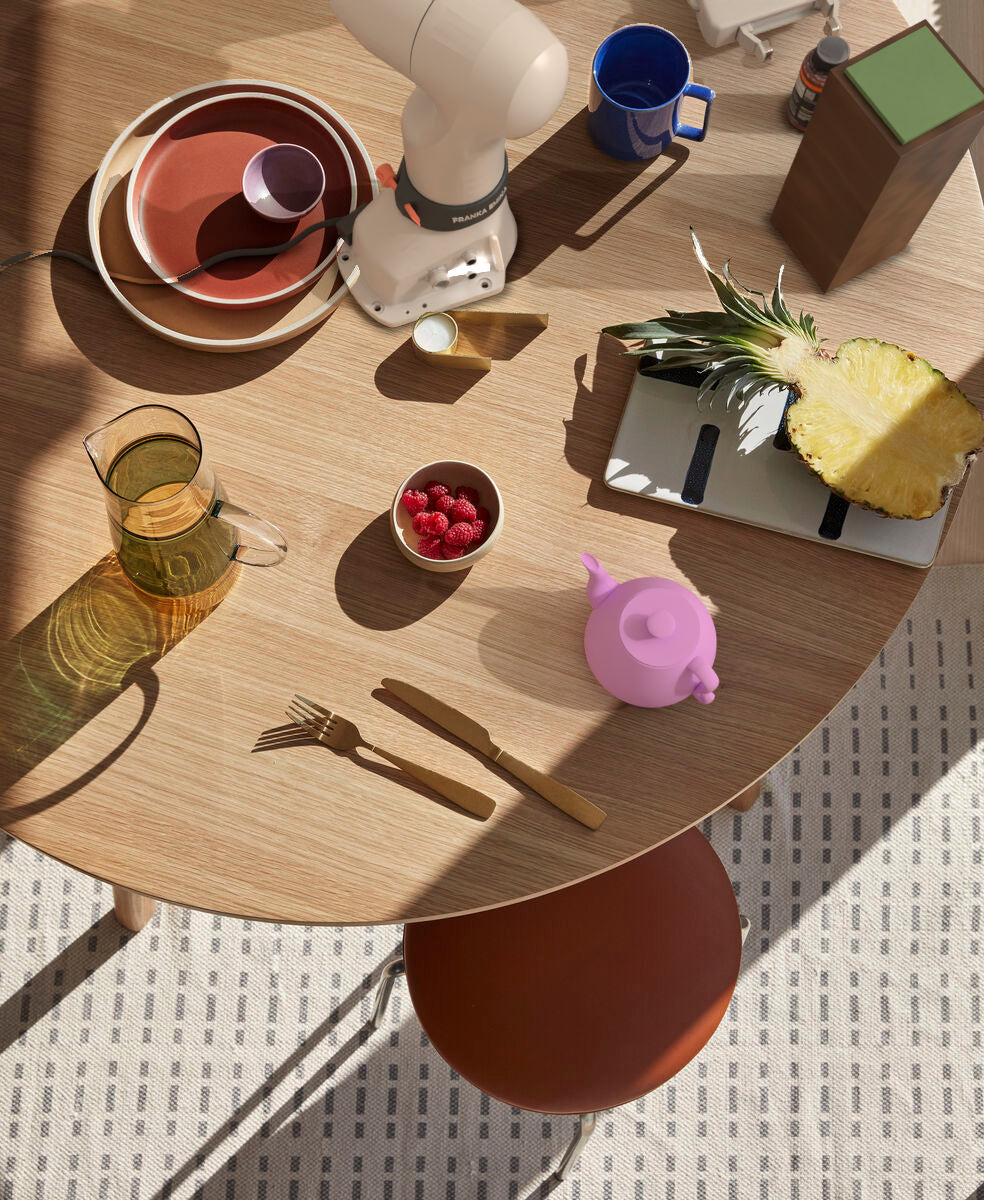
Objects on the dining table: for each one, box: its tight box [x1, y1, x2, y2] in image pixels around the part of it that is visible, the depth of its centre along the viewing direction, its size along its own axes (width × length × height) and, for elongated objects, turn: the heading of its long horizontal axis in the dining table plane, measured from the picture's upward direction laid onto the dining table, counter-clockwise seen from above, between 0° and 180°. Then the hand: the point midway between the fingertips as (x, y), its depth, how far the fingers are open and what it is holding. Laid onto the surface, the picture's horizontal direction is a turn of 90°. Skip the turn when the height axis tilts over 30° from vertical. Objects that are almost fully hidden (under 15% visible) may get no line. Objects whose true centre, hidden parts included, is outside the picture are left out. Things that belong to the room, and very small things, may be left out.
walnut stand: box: [768, 18, 984, 295], centre depth 124 cm, size 12×12×26 cm
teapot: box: [580, 551, 720, 709], centre depth 117 cm, size 20×14×12 cm
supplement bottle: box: [786, 36, 851, 132], centre depth 135 cm, size 6×6×11 cm
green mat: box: [844, 26, 984, 145], centre depth 111 cm, size 10×10×1 cm
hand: (801, 46), depth 136 cm, fingers open, 8 cm apart
